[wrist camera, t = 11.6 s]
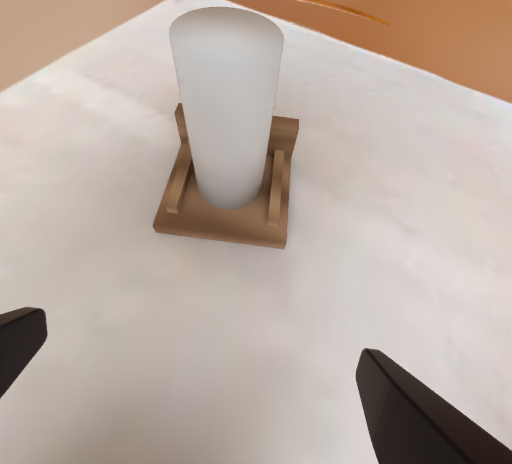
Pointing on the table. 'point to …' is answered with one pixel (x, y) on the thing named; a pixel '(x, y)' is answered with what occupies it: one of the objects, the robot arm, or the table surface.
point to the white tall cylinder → (227, 98)
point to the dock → (237, 220)
